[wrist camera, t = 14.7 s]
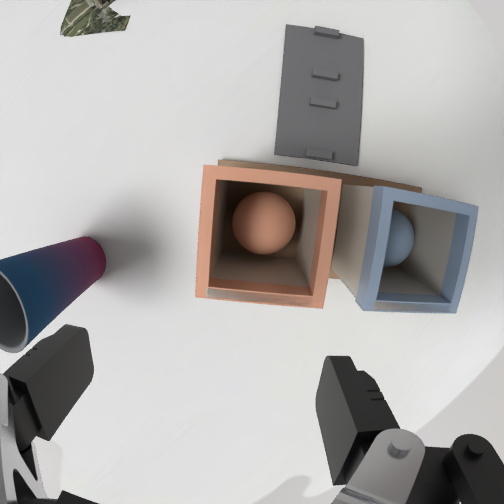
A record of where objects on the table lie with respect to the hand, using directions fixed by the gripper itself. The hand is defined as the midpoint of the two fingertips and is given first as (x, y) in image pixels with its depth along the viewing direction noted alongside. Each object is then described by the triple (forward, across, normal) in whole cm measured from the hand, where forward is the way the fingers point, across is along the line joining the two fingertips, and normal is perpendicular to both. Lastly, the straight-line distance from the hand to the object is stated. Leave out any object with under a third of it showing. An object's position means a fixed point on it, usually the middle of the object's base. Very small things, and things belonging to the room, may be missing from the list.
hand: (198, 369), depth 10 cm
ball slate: (+20, -13, -2) cm, 24 cm away
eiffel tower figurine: (+22, +18, -30) cm, 41 cm away
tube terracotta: (+20, -2, -2) cm, 20 cm away
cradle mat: (+21, -7, -15) cm, 27 cm away
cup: (+22, +16, +3) cm, 27 cm away
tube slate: (+20, -13, -2) cm, 24 cm away
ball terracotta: (+20, -2, -2) cm, 20 cm away
